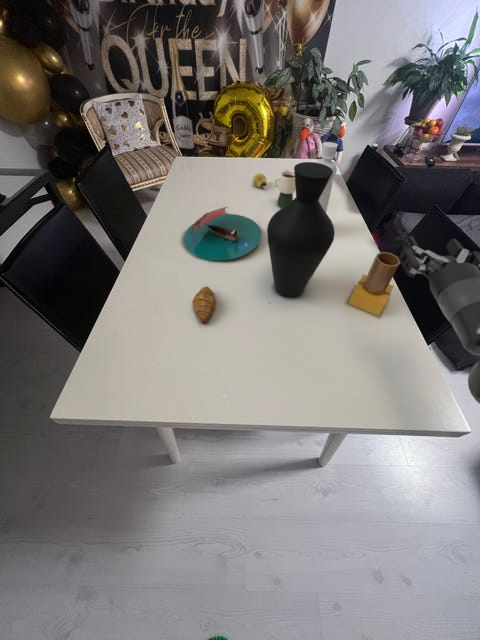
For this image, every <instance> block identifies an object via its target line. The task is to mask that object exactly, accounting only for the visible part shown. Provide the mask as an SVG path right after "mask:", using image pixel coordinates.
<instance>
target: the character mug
mask: <svg viewBox="0 0 480 640" xmlns="http://www.w3.org/2000/svg"><path fill="white" fill-rule="evenodd" d="M273 187H277V188H278V191H279V195H278V198H277V201H276V202H277V203H276V204H277V206H278V207H279V208H280V209H282V208H283V207H285V206H286V205H287V204H289V203H290V202H291V201H292V200H294V198H293V197H294V195H293V194H294V193H296V188H295V174H294V170H293V171H292V170H283V171H281V172H280V173H279V177H274V181H273Z"/></svg>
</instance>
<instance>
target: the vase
mask: <svg viewBox="0 0 480 640" xmlns="http://www.w3.org/2000/svg"><path fill="white" fill-rule="evenodd" d="M315 162H316V161H315ZM315 162H313V161H304V162H300V163H297V164H295V165H294V167H293V172H294V174H295V188H296V190H295V198H293V200H292V201H291V202H290V203H289V204H287V205H286V206H285V207H283V208H279V210H277V211H276V212H275V213H274V214H273V215H272V216H271V218H270V219H269V221H268V223H267V226H266V227H267V228H266V236H267V244H268V252H269V258H270V264H271V265H270V266H271V271H272V278H273V285H274V290H275V291H276V293H277V294H278V295H279V296H281V297H283V298H286V299H293V298H297V297H299V296H301V294H302V293H303V291H304V290H305V288H306V287H307V285H308V283H309V282H310V280H311V279H312V277H313V275H314V274H315V273H316V271H317V269H318V268H319V266H320V264H321V263H322V261H323V260H324V258H325V257H326V255H327V253H328V252H329V250H330V248H331V246H332V244H333V243H334V239H335V225H334V224H333V222H332V219H331V218H330V217H329V215H328V214H327V211H326V212H325V211H324V209H323V208H322V206H321V204H320V202H319V201H318V200H319V199H320V197H321V195H322V193H323V191H324V189H325V187H326V185H327V183H328V181H329V179H330V177H331V175H332V173H333V171H332V169H331V168H330V167H328V166H326V165H324V164H321V163H315Z"/></svg>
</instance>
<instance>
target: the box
mask: <svg viewBox="0 0 480 640" xmlns="http://www.w3.org/2000/svg"><path fill="white" fill-rule="evenodd" d="M367 275H368V274H365V273H364V274H363V275H362V276H361V278H360V279H359V280H358V282H357V285H356V286H355V288H354V290H353V291H352V294H351V296H350V299H349V301H348V304H349V305H352V306H354V307H356V308H358V309H361V310H363V311H366V312H367V313H370V314H372V315H375V316H376V317H379V316H380V315H381V313H382V311H383V309H384V308H385V306H386V304H387V302H388V300H389V298H390V296H391V294H392V292H393V289H394V287H395V285H393V284H390V283H389V285H388V286H387V288H386V290H385V292H384V293H383V294H380V295H375V294H371V293H369V292H367V291H366V290H365V289H364V287H363V284H364V281H365V279H366V277H367Z"/></svg>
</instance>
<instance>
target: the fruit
mask: <svg viewBox="0 0 480 640" xmlns="http://www.w3.org/2000/svg"><path fill="white" fill-rule="evenodd" d="M252 184H253V186H254V187H256V188H259V189H265V190H268V188H267V185H268V182H267V178H266V175H265V174H263V173H261V172H257V173H255V174H254V175H253V177H252Z"/></svg>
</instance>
